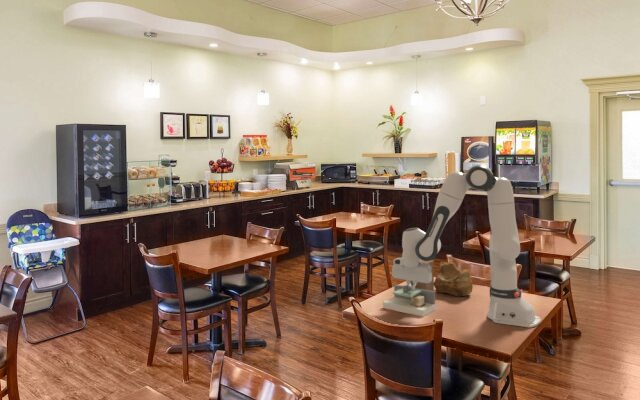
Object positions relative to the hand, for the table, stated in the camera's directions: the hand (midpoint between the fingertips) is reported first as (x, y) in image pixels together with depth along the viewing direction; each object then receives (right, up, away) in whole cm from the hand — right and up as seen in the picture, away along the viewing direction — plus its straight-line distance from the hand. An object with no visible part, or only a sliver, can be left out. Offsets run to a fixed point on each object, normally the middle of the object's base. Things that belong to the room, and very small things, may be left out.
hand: (411, 289), depth 238 cm
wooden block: (+8, -8, +18) cm, 21 cm away
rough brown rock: (+25, -7, +27) cm, 38 cm away
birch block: (+3, -10, -1) cm, 11 cm away
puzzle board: (-1, -10, +2) cm, 10 cm away
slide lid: (-2, -2, +1) cm, 3 cm away
